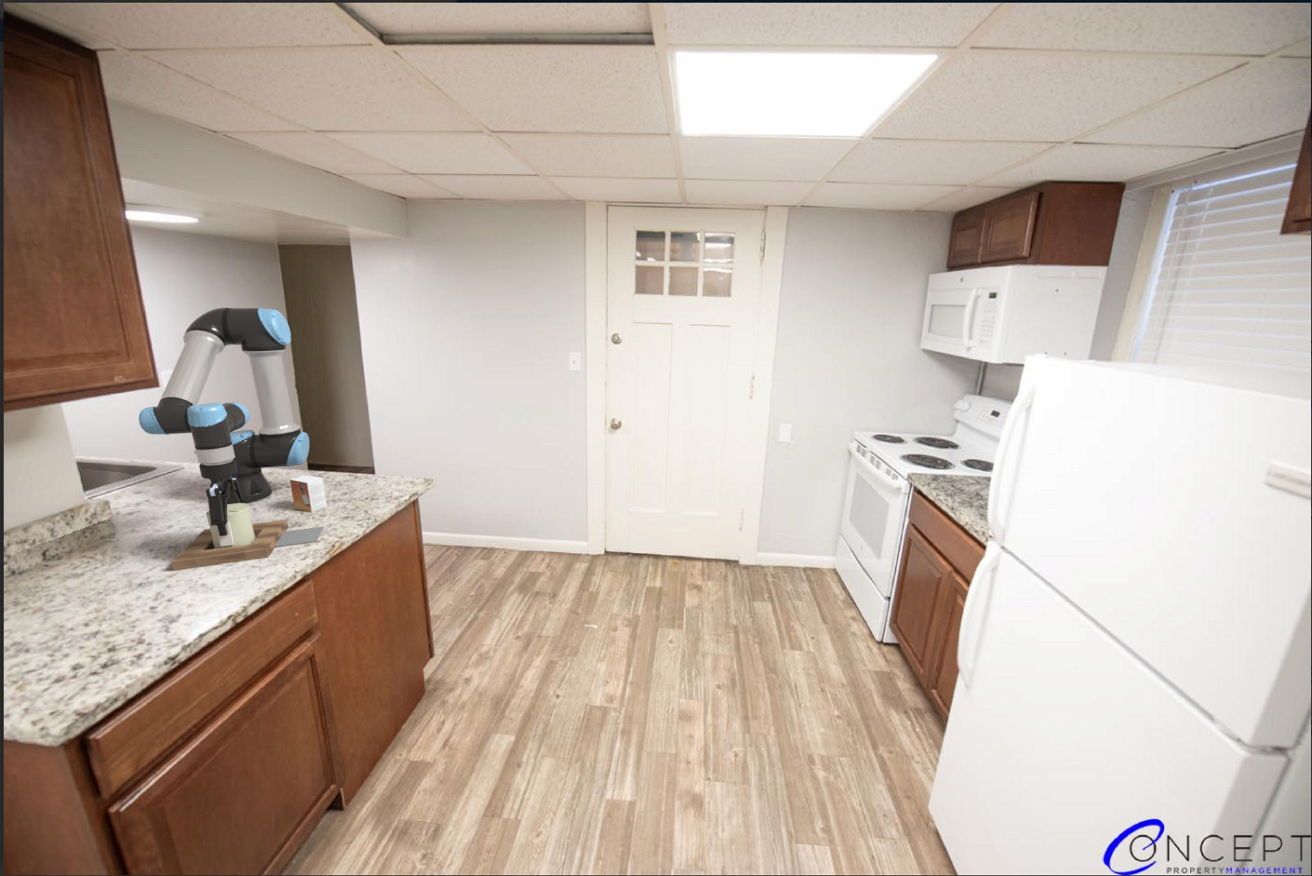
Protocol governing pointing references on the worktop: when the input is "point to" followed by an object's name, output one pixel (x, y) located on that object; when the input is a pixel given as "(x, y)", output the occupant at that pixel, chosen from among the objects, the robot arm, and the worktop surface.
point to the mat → (299, 536)
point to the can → (235, 525)
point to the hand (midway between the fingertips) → (234, 537)
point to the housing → (206, 555)
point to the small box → (308, 493)
